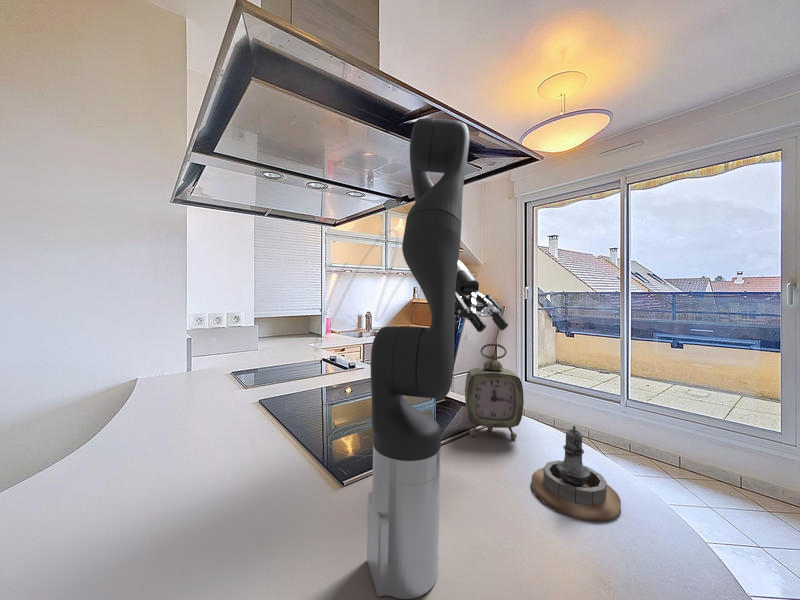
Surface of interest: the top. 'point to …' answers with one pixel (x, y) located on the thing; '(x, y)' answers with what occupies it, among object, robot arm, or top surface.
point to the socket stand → (576, 495)
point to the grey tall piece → (573, 461)
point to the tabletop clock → (494, 395)
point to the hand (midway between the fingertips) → (494, 328)
